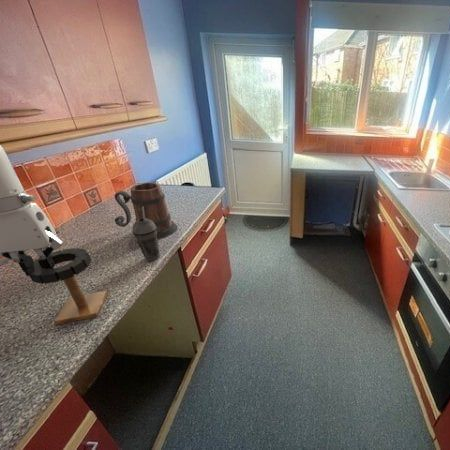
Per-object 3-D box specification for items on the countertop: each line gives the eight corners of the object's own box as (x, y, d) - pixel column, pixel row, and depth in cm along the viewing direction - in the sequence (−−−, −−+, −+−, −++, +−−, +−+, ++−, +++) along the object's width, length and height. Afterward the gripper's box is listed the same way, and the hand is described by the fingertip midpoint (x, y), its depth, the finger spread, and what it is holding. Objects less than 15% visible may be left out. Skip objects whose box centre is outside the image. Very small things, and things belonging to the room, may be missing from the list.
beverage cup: (139, 256, 91) (123, 206, 82) (160, 249, 95) (148, 201, 86) (143, 266, 86) (127, 214, 77) (166, 258, 90) (153, 208, 81)
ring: (20, 287, 56) (15, 279, 55) (46, 259, 65) (42, 251, 64) (80, 278, 60) (77, 270, 58) (97, 253, 69) (94, 245, 68)
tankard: (182, 221, 117) (174, 179, 107) (170, 239, 102) (159, 193, 93) (129, 221, 114) (116, 179, 105) (108, 241, 99) (90, 193, 90)
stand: (55, 324, 64) (32, 285, 58) (71, 300, 71) (51, 262, 65) (97, 316, 67) (79, 278, 60) (108, 293, 74) (92, 257, 68)
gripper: (59, 193, 58) (87, 257, 67) (-36, 198, 53) (8, 267, 62) (42, 205, 52) (75, 274, 61) (-67, 213, 47) (-14, 287, 55)
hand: (41, 270), depth 61 cm, fingers closed on ring, 2 cm apart
